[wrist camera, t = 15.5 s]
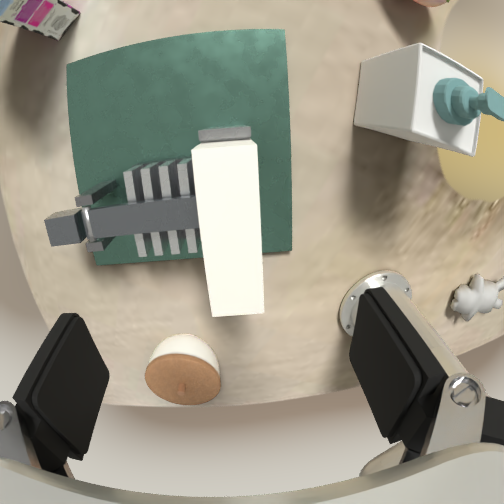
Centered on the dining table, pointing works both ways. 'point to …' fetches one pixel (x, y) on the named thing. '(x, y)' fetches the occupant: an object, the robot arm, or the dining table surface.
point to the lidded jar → (184, 370)
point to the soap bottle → (424, 98)
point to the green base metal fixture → (179, 130)
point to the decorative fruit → (431, 2)
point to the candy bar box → (39, 16)
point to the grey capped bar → (122, 220)
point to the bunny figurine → (477, 297)
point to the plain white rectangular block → (230, 225)
